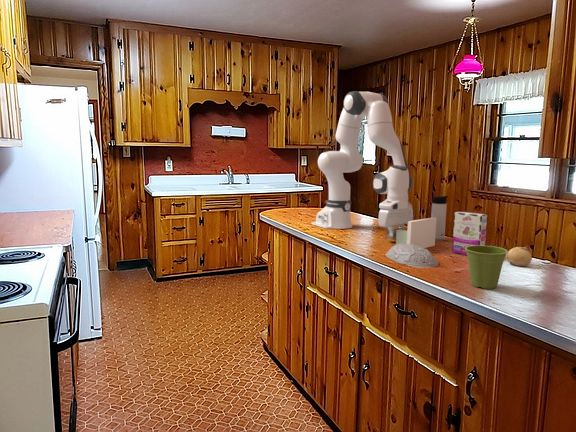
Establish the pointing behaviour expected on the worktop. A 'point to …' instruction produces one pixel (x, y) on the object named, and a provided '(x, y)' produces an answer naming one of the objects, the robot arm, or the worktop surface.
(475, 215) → the candy bar box
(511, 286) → the worktop surface
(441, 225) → the travel mug
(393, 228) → the rail
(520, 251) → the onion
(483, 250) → the plant pot
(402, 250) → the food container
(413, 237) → the post block
